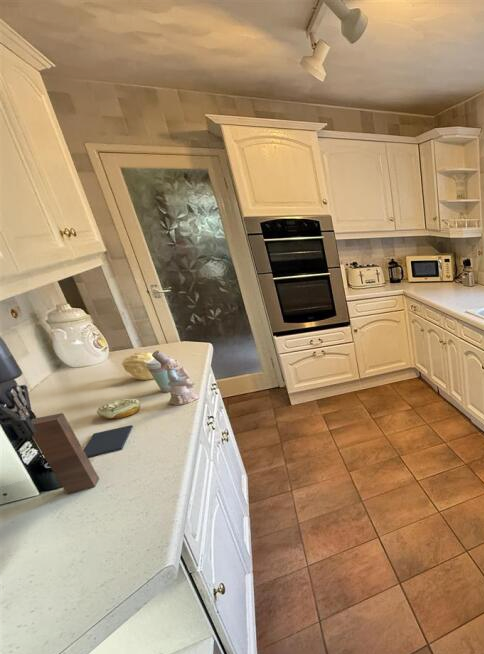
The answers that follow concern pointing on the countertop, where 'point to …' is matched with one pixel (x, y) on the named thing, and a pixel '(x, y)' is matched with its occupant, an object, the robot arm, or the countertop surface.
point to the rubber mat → (107, 441)
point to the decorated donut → (119, 409)
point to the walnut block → (64, 453)
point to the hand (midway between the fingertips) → (28, 435)
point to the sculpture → (138, 365)
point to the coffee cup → (159, 374)
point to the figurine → (176, 380)
